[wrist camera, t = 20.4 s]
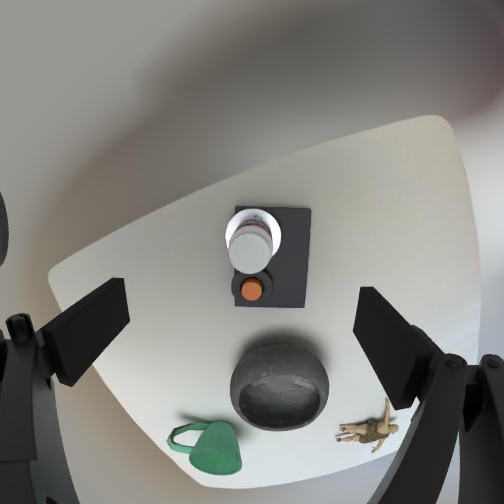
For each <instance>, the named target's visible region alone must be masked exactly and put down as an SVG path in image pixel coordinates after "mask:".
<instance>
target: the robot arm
mask: <svg viewBox="0 0 504 504" xmlns="http://www.w3.org/2000/svg"><path fill="white" fill-rule="evenodd" d="M129 322H130V317H129V312H128V305H127V299H126V292H125V284H124V278H114V277H113V278H111V279H110V280H108V281H107V282H105V283H104V284H102V285H101V286H99V287H98V288H96V289H95V290H94V291H92V292H91V293H89V294H88V295H86V296H85V297H83V298H82V299H81V300H79V301H78V302H76V303H75V304H73V305H72V306H71V307H69V308H68V309H66V310H65V311H64V312H62V313H61V314H59V315H58V316H57V317H55V318H54V319H53V320H51V321H50V322H48V323H47V324H46V325H45V326H43V327H42V328H40V329H39V330H38V331H36V333H35V332H34V329H33V325H32V322H31V318H30V315H28V314H25V313H19V314H16V315H13V316H11V317H9V318H8V319H7V320H6V325H7V328H8V331H9V334H10V337H11V340H10V339H5V338H4V335H3V332H2V330H1V329H0V504H80V503H79V500H78V497H77V494H76V491H75V489H74V485H73V482H72V479H71V475H70V472H69V468H68V464H67V461H66V456H65V453H64V448H63V444H62V438H61V434H60V428H59V422H58V416H57V408H56V400H55V391H54V383H53V380H52V378H51V376H52V375H53V374H54V373H56V375H57V378H58V380H59V382H60V383H62V384H64V385H67V386H70V387H72V386H73V385H74V384H75V383H76V382H77V380H78V379H79V378H80V377H81V376H82V375H83V374H84V372H85V371H86V370H87V369H88V368H89V367H90V366H91V364H92V363H93V362H94V361H95V360H96V359H97V358H98V356H99V355H100V354H101V353H102V352H103V351H104V350H105V349H106V347H107V346H108V345H109V344H110V343H111V342H112V341H113V340H114V338H115V337H116V336H117V335H118V334H119V333H120V332H121V331H122V330H123V329H124V327H125V326H126V325H127V324H128V323H129ZM353 333H354V334H355V336H356V338H357V340H358V342H359V343H360V345H361V347H362V349H363V351H364V352H365V354H366V356H367V358H368V360H369V362H370V363H371V365H372V367H373V369H374V371H375V373H376V375H377V377H378V378H379V380H380V382H381V384H382V386H383V388H384V390H385V392H386V394H387V396H388V398H389V400H390V402H391V404H392V406H393V408H394V410H400V409H405V408H410V407H411V406H412V404H413V402H414V400H415V397H416V396H417V398H418V400H419V401H420V403H419V405H418V407H417V409H416V411H415V413H414V415H413V417H412V419H411V424H410V426H409V429H408V431H407V433H406V435H405V438H404V440H403V442H402V444H401V446H400V448H399V450H398V452H397V454H396V456H395V458H394V460H393V462H392V464H391V465H390V467H389V469H388V471H387V473H386V474H385V476H384V478H383V479H382V481H381V483H380V484H379V486H378V488H377V489H376V491H375V493H374V494H373V496H372V497H371V499H370V500H369V502H368V503H367V504H436V502H437V499H438V497H439V494H440V491H441V489H442V486H443V483H444V480H445V477H446V474H447V472H448V468H449V465H450V462H451V458H452V455H453V451H454V447H455V443H456V439H457V434H458V431H459V444H460V482H459V498H458V504H504V361H503V359H502V358H500V357H499V356H497V355H492V354H486V355H484V356H483V357H482V359H481V361H480V363H479V365H467V362H466V361H465V359H463V358H462V357H461V356H458V355H456V354H450V353H448V354H445V353H444V352H443V351H442V350H441V349H440V348H439V347H438V346H437V345H436V344H435V343H434V342H433V341H432V340H431V339H430V337H429V336H428V337H427V334H426V333H425V332H424V331H423V330H422V329H420V328H418V327H416V326H415V325H410V324H409V323H408V322H407V321H406V320H405V319H404V318H403V317H402V316H401V315H400V314H399V313H398V311H397V310H396V309H395V308H394V307H393V306H392V305H391V304H390V303H389V302H388V301H387V300H386V299H385V298H384V297H383V296H382V295H381V294H380V293H379V292H378V291H377V290H376V289H375V288H374V287H360V293H359V300H358V306H357V311H356V317H355V322H354V328H353Z"/></svg>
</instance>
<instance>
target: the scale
mask: <svg viewBox="0 0 504 504" xmlns="http://www.w3.org/2000/svg"><path fill="white" fill-rule="evenodd" d="M251 208H256V209H261V210H264V211H266V212H268V213H269V214H271V215H272V216H273V217H274V218H275V220H276V221H277V223H278V224H279V227H280V231H281V242H280V246H279V248H278V250H277V252H276V253H275V254H274V255H273V256H272V257H271V259H270V261H269V262H268V264H267V265H266V267H265V268H264V269H262V270H261V271H259V272H257V273H253V274H246V273H242V272H240V271H238V270H237V269H236V268H235V276H234V277H233V279H232V283H231V289H232V294H233V296H234V297H235V306H244V307H277V308H304V305H305V294H306V283H307V271H308V257H309V242H310V225H311V209H309V208H289V207H257V206H236V207H235V215H236V214H237V213H239V212H240V211H243V210H245V209H251ZM250 278H254V279H257V280H258V281H260V283H261V285H262V293H261V296H260V297H259V298H258V299H256V300H252V301H251V300H247V299H246V298H244V296H243V295H242V286H243V283H244V282H245V281H246V280H247V279H250Z"/></svg>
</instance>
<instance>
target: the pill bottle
mask: <svg viewBox="0 0 504 504" xmlns="http://www.w3.org/2000/svg"><path fill="white" fill-rule="evenodd" d="M273 249H274V246H273V237H272V232H271V230H270V228H269V227H268V225H267V224H265V223H264V222H262V221H260V220H257V219H249V220H246V221H244V222H242V223H241V224H240V225H239V226H238V227H237V229H236V230H235V232H234V233H233V235H232V236H231V238H230V241H229V246H228V250H229V259H230V261H231V263H232V265H233V266H234V267H235V268H236V269H237V270H238V271H240V272H242V273H246V274H253V273H257V272H259V271H261V270H262V269H264V268H265V267H266V265H267V264H268V262H269V261H270V259H271V257H272V254H273Z"/></svg>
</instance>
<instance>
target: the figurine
mask: <svg viewBox="0 0 504 504" xmlns="http://www.w3.org/2000/svg"><path fill="white" fill-rule="evenodd" d="M386 404H387V410H386V414H385V419H384V422H381V423H377V422H373V421H368V422H367V423H366V424H362V425H359V426H357V427H350V428H345V427H343V428H342V426H341V424H340V431H348V432H349V433H353V432H356V434H354V435H353V436H348V437H346V438H343V439H341V438H338V439H337V438H336V441H337V442H340V441H347V442H349V441H359V442H360V443H365V444H366V443H368V442H371V441H376V440H378V439H379V444H378V445H377V447H376V448H375V447H372V448H374V450H372V451H371V453H374V452H375V451H376V450H377V449H378V448H379V447H380V446H381V445H382V443H383V442H384V440H385V438H387V437H388V436H389V434H390V432H391V433H392V434H393V433H394V432H397V431H398V425H396V424H391V425H390V424H389V423H388V422H389V420H388V419H389V414H390V413H389V409H390V405H389V401H388V399H386Z"/></svg>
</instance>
